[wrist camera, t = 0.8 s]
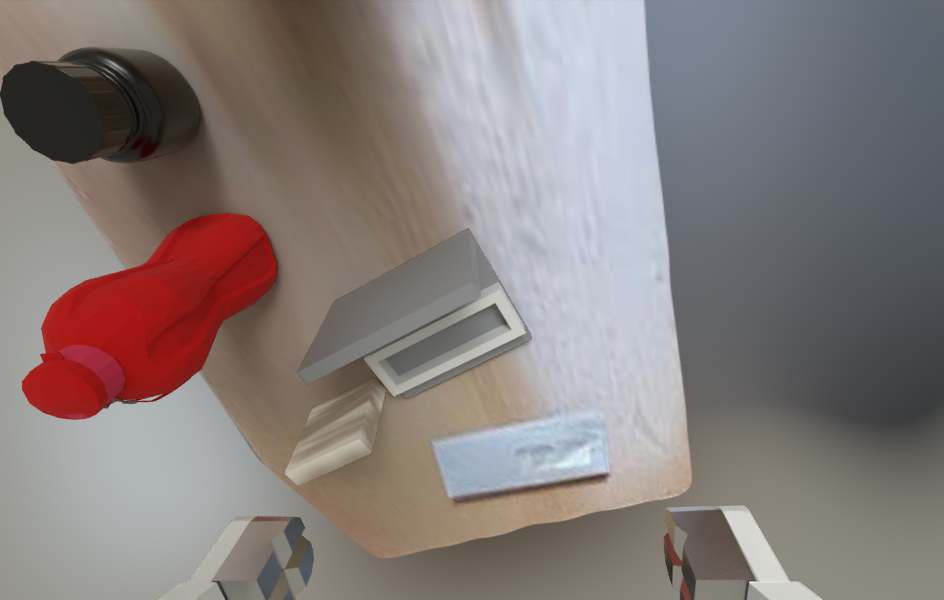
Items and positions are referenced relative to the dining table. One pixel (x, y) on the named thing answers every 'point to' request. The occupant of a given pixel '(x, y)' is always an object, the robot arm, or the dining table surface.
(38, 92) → the ink bottle
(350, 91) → the dining table surface
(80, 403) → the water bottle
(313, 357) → the grey tablet stand
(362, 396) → the door panel
